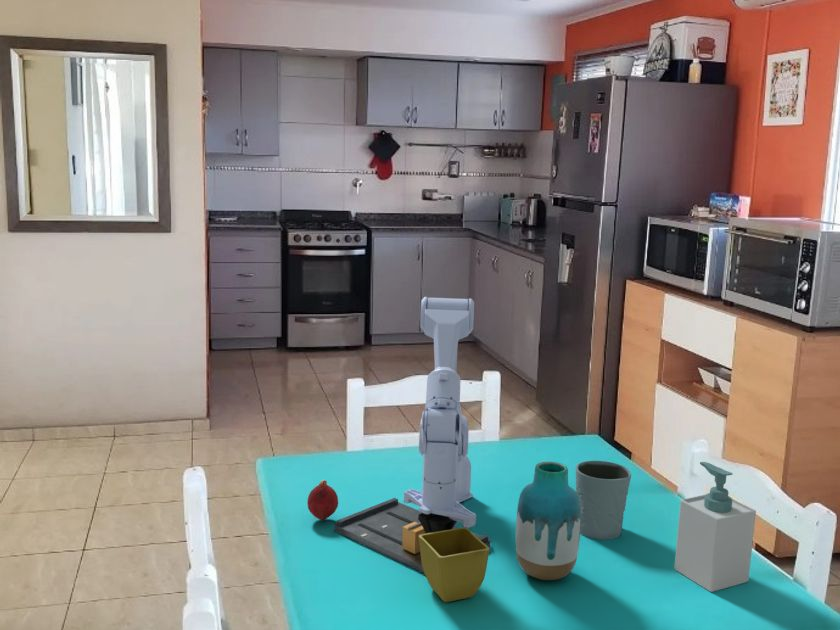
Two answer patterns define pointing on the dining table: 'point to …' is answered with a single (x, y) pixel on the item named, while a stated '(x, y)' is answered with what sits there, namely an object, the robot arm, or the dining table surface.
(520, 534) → the vase
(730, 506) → the soap bottle
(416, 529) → the fader
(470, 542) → the flower pot
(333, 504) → the onion
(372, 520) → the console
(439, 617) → the dining table surface
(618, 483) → the grey textured cup
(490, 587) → the dining table surface
